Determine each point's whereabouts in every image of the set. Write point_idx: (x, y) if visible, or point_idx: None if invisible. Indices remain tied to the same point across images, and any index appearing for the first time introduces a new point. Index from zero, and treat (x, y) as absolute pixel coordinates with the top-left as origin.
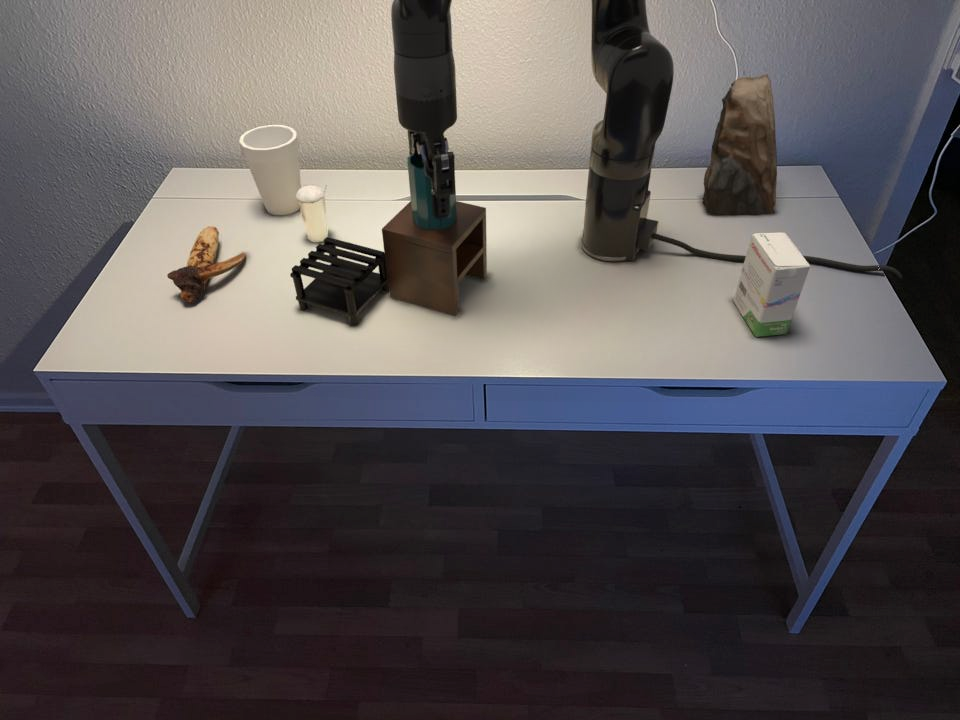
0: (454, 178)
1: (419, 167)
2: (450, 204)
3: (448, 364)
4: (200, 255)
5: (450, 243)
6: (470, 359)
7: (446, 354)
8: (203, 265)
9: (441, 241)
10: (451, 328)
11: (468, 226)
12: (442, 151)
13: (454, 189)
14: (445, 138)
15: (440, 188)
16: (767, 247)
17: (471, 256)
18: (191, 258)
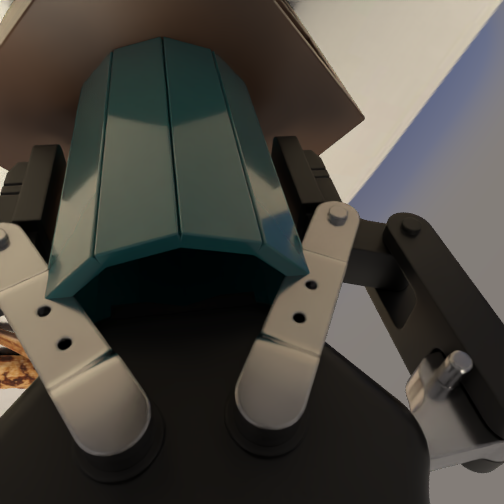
0: (471, 282)
1: (89, 292)
2: (261, 133)
3: (418, 78)
4: (12, 381)
5: (347, 118)
6: (436, 30)
7: (392, 73)
8: (36, 373)
9: (320, 140)
10: (328, 36)
11: (282, 19)
12: (481, 452)
13: (437, 237)
14: (288, 431)
15: (401, 287)
16: None
17: None
18: (22, 388)
